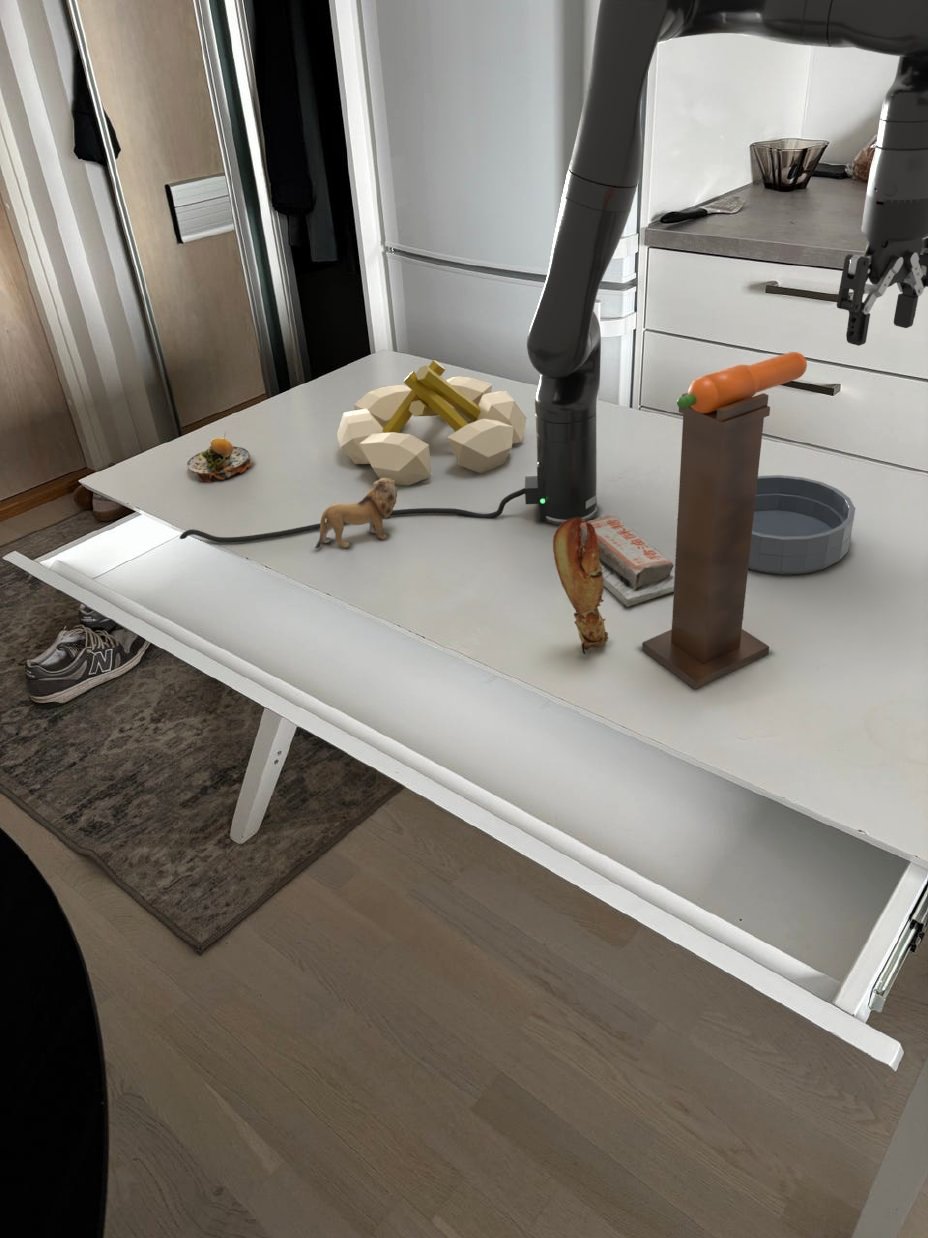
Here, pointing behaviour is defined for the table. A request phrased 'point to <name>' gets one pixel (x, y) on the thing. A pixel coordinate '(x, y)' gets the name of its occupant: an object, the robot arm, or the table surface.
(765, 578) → the table surface
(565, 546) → the crab claw
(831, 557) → the bowl
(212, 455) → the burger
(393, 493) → the lion figurine
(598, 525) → the packaged product
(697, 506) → the stand
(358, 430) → the campfire
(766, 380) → the carrot
